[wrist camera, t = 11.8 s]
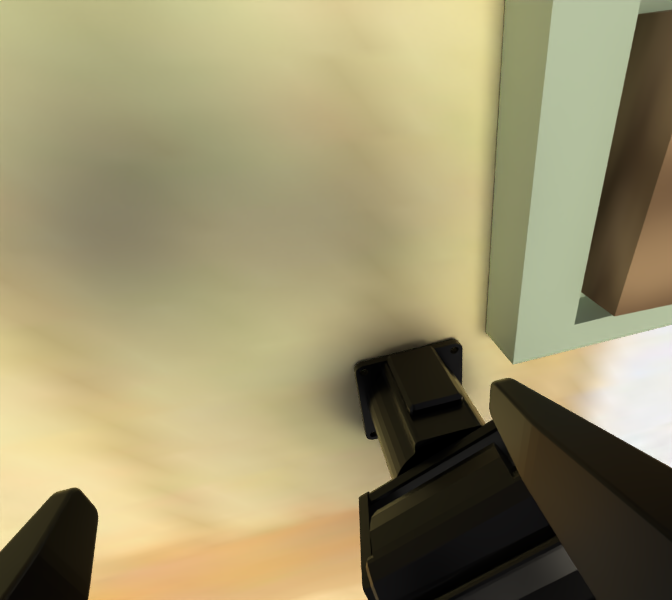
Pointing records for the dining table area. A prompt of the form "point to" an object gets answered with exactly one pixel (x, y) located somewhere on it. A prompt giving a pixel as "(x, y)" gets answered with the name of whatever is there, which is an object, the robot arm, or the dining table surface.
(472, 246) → the dining table surface
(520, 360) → the sage cradle
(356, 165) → the dining table surface
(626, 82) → the walnut peg
